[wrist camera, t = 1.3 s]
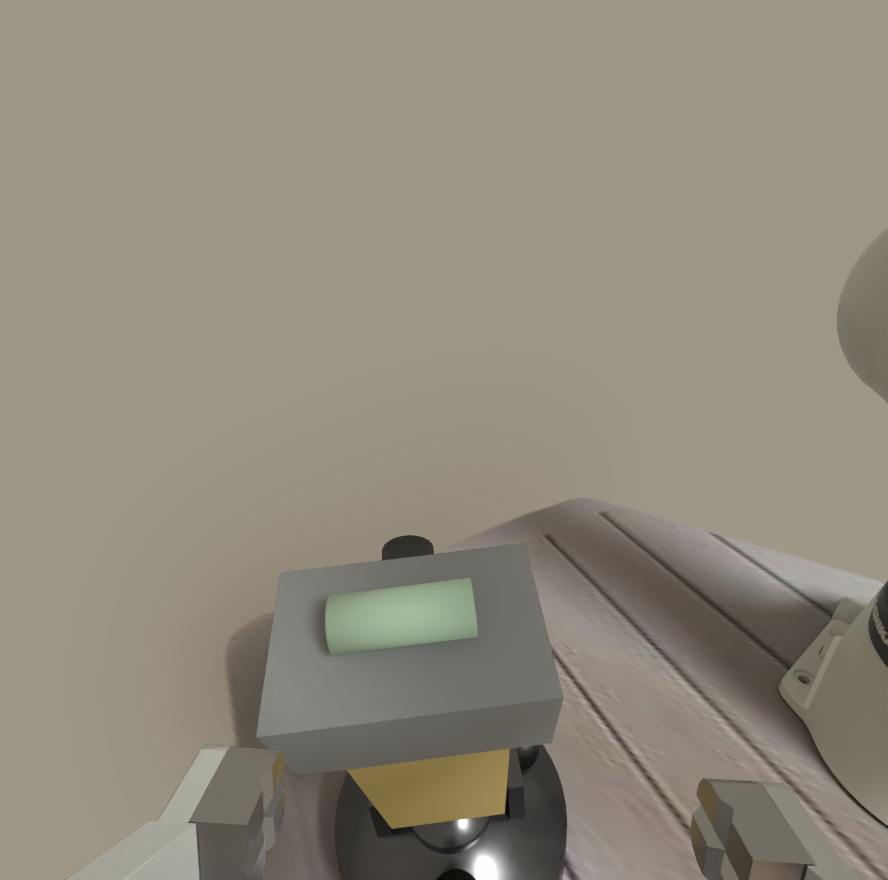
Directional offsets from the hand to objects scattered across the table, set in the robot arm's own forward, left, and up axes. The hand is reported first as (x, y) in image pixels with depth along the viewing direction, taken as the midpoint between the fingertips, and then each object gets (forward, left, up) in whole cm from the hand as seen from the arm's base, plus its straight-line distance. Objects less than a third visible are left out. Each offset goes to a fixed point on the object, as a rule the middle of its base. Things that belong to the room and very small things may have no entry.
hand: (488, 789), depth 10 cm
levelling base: (-8, -11, -32) cm, 35 cm away
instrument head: (-9, -12, -27) cm, 31 cm away
